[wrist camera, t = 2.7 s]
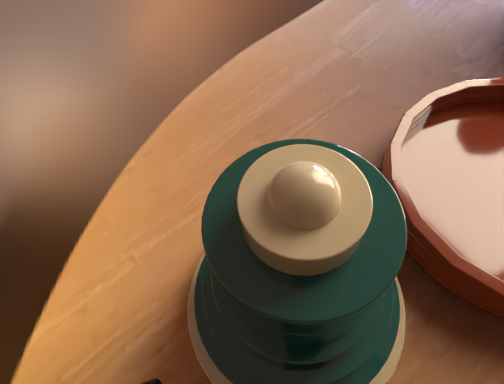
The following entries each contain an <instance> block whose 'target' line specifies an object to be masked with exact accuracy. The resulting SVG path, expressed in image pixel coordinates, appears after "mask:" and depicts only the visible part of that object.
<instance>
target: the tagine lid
mask: <svg viewBox="0 0 504 384" xmlns="http://www.w3.org/2000/svg"><path fill="white" fill-rule="evenodd" d="M201 231H202V241H203V246H204V250H205V252H204V254H203V256H202V257H201V259H200V261H199V263H198V265H197V267H196V269H195V272H194V275H193V278H192V281H191V284H190V289H189V295H188V305H187V318H188V329H189V334H190V339H191V343H192V346H193V349H194V352H195V355H196V357H197V359H198V361H199V363H200V365H201V367H202V369H203V371H204V372H205V374H206V375H207V377H208V378H209V380H210V381H211V383H212V384H387V382H388V381H389V379H390V378H391V376H392V375H393V372H394V370H395V368H396V366H397V364H398V362H399V359H400V355H401V352H402V349H403V345H404V338H405V331H406V313H405V305H404V299H403V295H402V291H401V287H400V284H399V282H398V279H397V277H396V276H397V274H398V272H399V270H400V268H401V266H402V263H403V260H404V257H405V252H406V246H407V224H406V217H405V214H404V210H403V207H402V204H401V202H400V200H399V197H398V195H397V193H396V192H395V190H394V188H393V187H392V185H391V184H390V182H389V181H388V180H387V179H386V177H385V176H384V175H383V174H382V173H381V172H380V171H379V170H378V169H377V168H376V167H375V166H374V165H373V164H371V163H370V162H369V161H367V160H366V159H365V158H363V157H361V156H360V155H358V154H356V153H355V152H353V151H351V150H348V149H346V148H344V147H341V146H338V145H335V144H333V143H328V142H324V141H319V140H311V139H291V140H283V141H277V142H273V143H269V144H266V145H263V146H261V147H258V148H256V149H253V150H251V151H250V152H248V153H246V154H244V155H243V156H241V157H240V158H238V159H237V160H235V161H234V162H233V163H232V164H231V165H230V166H229V167H227V168H226V170H225V171H224V172H223V173H222V174H221V175H220V176H219V178H218V179H217V181H216V182H215V184H214V185H213V187H212V189H211V191H210V193H209V195H208V197H207V200H206V203H205V206H204V210H203V216H202V228H201Z"/></svg>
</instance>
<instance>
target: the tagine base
mask: <svg viewBox="0 0 504 384" xmlns="http://www.w3.org/2000/svg"><path fill="white" fill-rule="evenodd" d="M383 160H384V161H383V165H382V170H381V173H382V174H383V175H384V176H385V177H386V179H387V180H388V181H389V182H390V184H391V185H392V187H393V188H394V190H395V192H396V193H397V195H398V197H399V200H400V202H401V204H402V207H403V210H404V214H405V217H406V224H407V246H406V250H407V251H408V253H409V254H410V255H411V257H412V258H413V259H414V260H415V261H416V262H417V263H418V264H419V265H420V266H421V267H422V268H423V269H424V270H425V271H426V272H427V273H428V274H429V275H430V276H432V277H433V278H434V279H435V280H436V281H437V282H438V283H440V284H441V285H442V286H444V287H445V288H447V289H448V290H450V291H451V292H452V293H454V294H455V295H457V296H458V297H460V298H462V299H464V300H466V301H467V302H469V303H471V304H473V305H474V306H476V307H478V308H481V309H483V310H485V311H488V312H490V313H492V314H495V315H497V316H500V317H503V318H504V78H495V79H479V80H465V81H462V82H459V83H456V84H453V85H450V86H447V87H444V88H441V89H439V90H436V91H433V92H430V93H428V94H427V95H426V96H425V97H423V98H422V99H421V100H420V101H419V102H417V103H416V104H415V105H414V106H412V107H411V108H410V109H409V110H408V111H406V112H405V113H404V114H403V116H402V118H401V120H400V122H399V124H398V127H397V129H396V131H395V133H394V135H393V137H392V140H391V142H390V144H389V146H388V149H387V151H386V154H385V156H384V159H383Z"/></svg>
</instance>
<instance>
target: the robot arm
mask: <svg viewBox="0 0 504 384" xmlns="http://www.w3.org/2000/svg"><path fill="white" fill-rule="evenodd" d="M140 384H162V383H161V381H160V380H159V379H158V378H154V379H151V380H148V381H145V382H142V383H140Z"/></svg>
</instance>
